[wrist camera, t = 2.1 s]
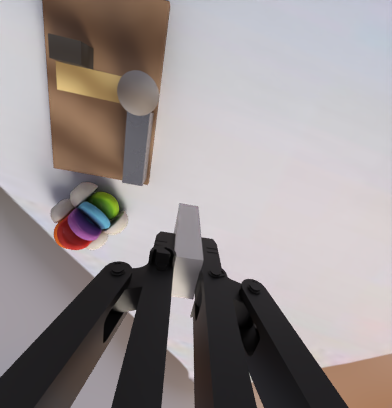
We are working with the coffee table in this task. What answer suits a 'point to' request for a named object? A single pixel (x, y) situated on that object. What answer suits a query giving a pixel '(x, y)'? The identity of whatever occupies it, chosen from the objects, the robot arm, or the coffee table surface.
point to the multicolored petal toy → (87, 218)
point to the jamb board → (101, 77)
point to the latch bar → (137, 148)
